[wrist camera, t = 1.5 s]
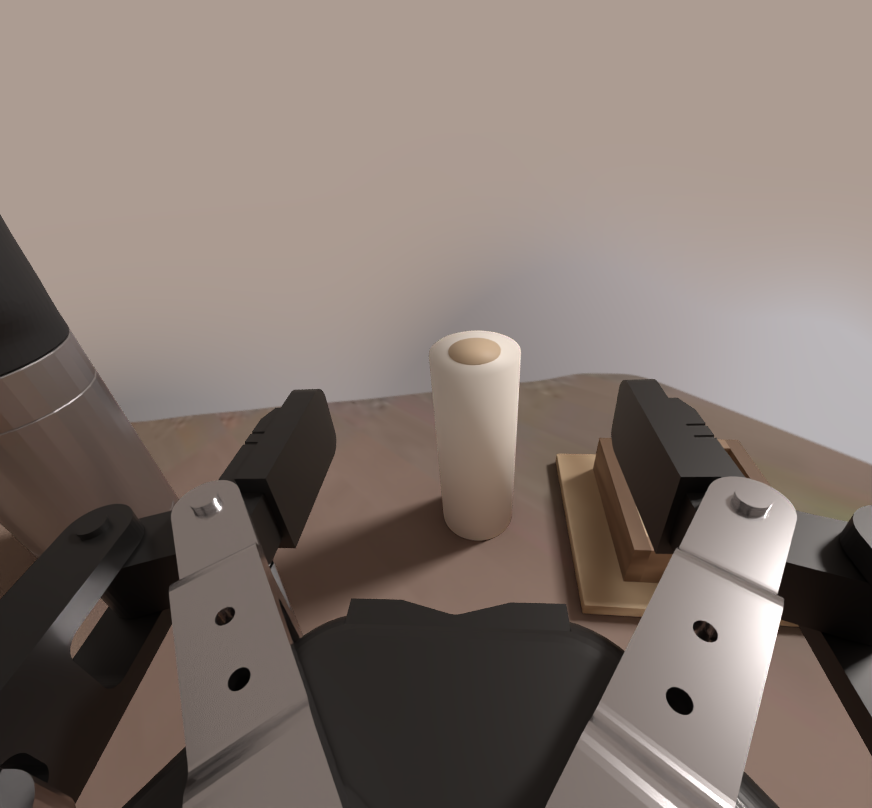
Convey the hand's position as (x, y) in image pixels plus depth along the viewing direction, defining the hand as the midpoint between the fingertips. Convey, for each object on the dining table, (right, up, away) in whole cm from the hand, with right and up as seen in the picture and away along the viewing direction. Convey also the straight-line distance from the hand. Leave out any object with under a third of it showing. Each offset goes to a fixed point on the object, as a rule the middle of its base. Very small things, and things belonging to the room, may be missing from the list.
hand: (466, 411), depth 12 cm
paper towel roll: (+3, -9, +23) cm, 25 cm away
